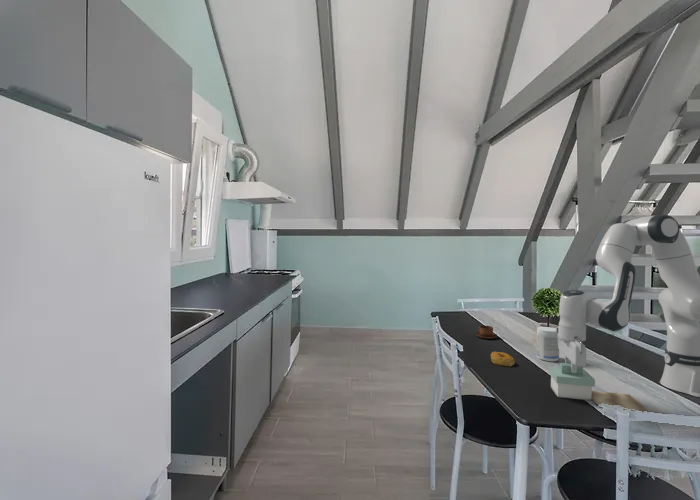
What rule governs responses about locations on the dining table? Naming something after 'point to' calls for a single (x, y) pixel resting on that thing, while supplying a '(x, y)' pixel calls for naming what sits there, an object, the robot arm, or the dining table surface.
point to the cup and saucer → (486, 332)
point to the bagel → (502, 359)
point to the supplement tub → (547, 344)
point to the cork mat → (617, 400)
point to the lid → (571, 375)
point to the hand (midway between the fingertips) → (570, 369)
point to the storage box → (571, 390)
